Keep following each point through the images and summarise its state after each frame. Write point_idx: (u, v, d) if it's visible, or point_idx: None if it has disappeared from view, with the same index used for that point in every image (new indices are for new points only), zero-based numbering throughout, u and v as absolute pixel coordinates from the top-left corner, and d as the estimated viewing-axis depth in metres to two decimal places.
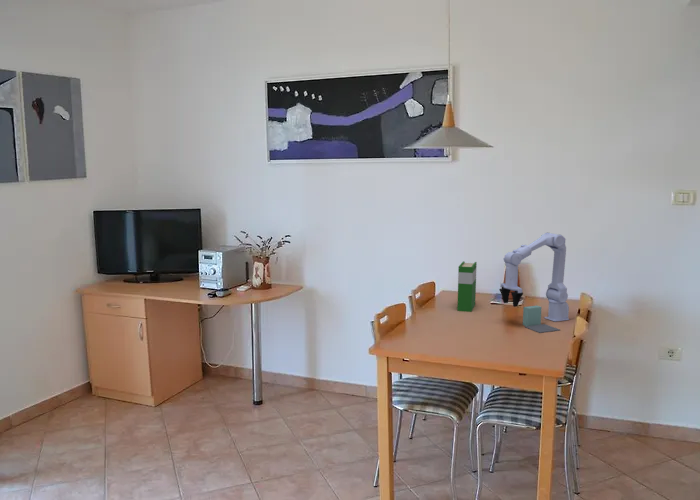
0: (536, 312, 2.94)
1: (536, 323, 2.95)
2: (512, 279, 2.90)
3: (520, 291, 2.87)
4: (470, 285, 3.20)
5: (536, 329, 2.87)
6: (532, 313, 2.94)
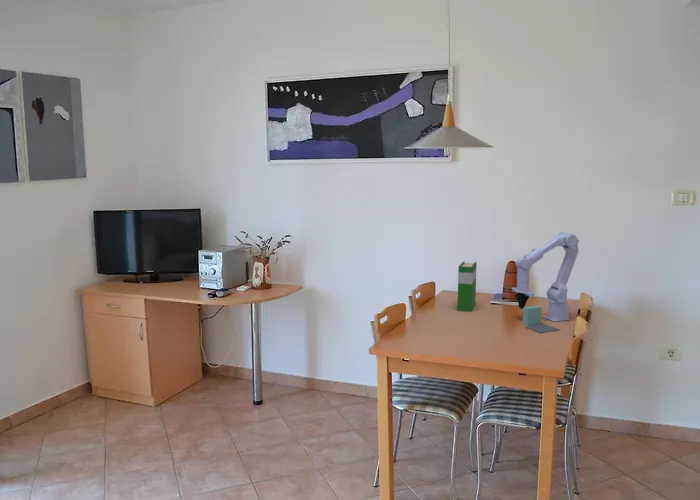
0: (536, 312, 2.94)
1: (536, 323, 2.95)
2: (523, 283, 2.98)
3: (531, 295, 2.95)
4: (470, 285, 3.20)
5: (536, 329, 2.87)
6: (532, 313, 2.94)
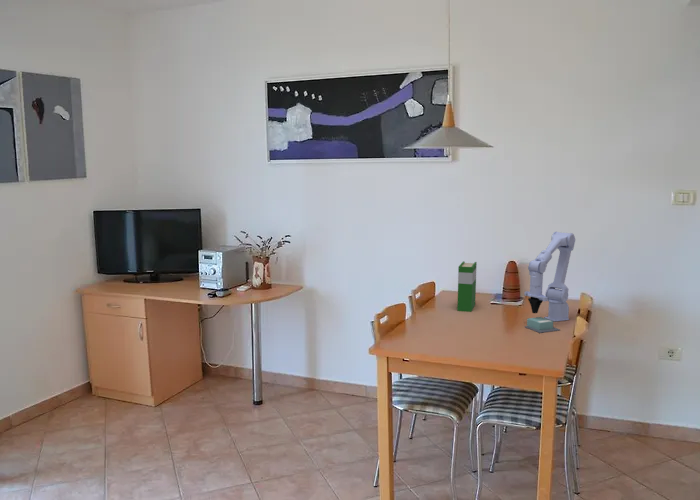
0: None
1: None
2: (537, 287, 2.89)
3: (545, 300, 2.86)
4: (470, 285, 3.20)
5: (536, 329, 2.87)
6: None
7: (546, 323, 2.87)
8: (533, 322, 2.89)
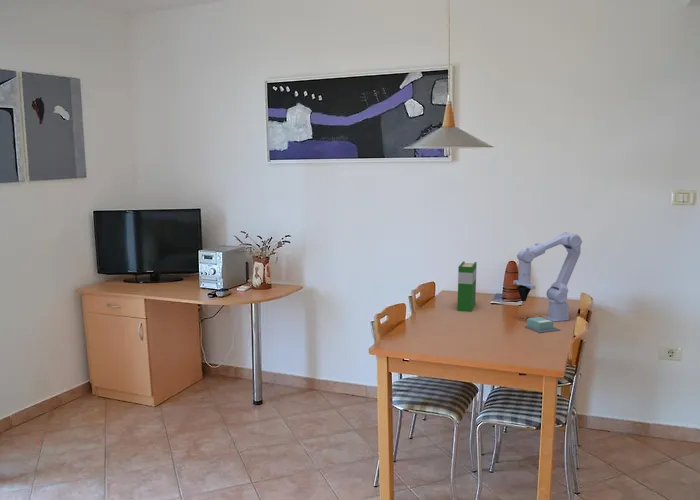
0: None
1: None
2: (525, 276, 2.97)
3: (533, 288, 2.94)
4: (470, 285, 3.20)
5: (536, 329, 2.87)
6: None
7: (546, 323, 2.87)
8: (533, 322, 2.89)
